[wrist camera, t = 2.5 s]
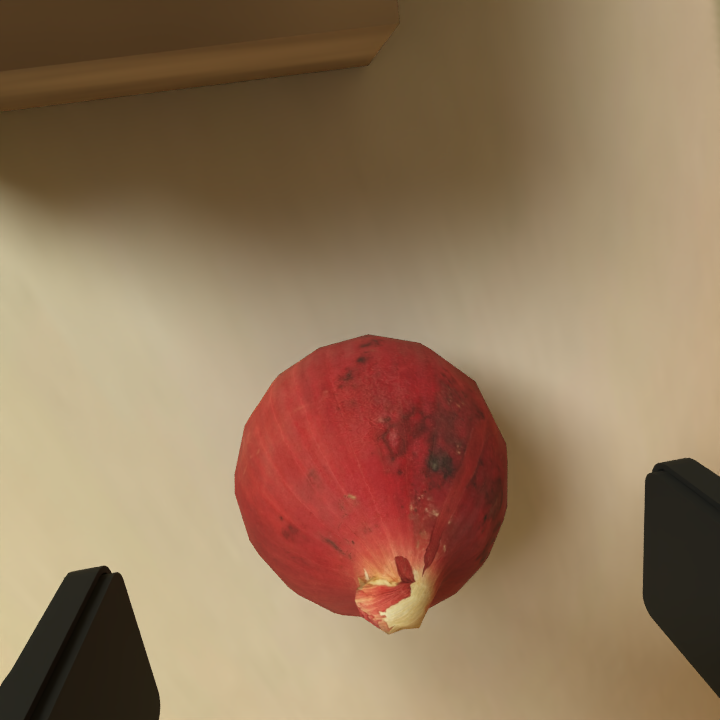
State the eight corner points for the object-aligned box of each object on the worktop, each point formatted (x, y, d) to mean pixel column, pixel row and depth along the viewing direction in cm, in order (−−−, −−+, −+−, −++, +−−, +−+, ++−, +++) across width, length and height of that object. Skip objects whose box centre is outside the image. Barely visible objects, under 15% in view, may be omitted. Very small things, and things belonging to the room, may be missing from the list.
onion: (329, 261, 15) (372, 353, 7) (493, 376, 16) (670, 552, 9) (208, 433, 16) (137, 672, 8) (374, 526, 17) (440, 796, 10)
